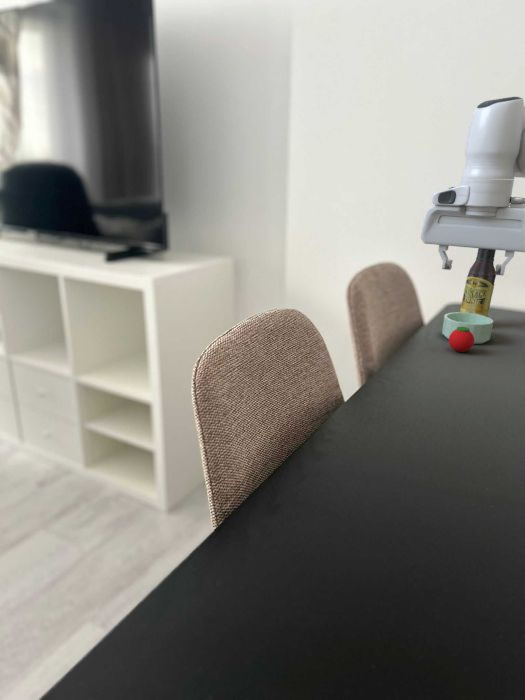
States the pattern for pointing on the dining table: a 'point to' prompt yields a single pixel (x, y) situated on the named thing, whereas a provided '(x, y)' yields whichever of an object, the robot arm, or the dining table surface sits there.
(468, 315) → the bowl
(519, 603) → the dining table surface
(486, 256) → the sauce bottle
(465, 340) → the tomato
